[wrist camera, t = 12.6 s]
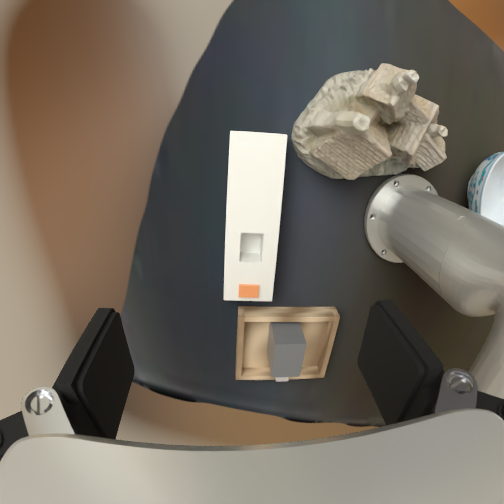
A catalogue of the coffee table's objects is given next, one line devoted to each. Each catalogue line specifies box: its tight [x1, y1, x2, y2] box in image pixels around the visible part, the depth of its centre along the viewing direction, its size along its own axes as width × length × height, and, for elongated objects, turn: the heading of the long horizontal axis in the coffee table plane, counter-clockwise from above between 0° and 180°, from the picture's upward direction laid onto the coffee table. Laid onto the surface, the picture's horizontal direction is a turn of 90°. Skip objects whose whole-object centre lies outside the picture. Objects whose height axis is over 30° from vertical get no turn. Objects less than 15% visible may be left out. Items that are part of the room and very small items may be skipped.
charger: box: [267, 322, 306, 381], centre depth 42 cm, size 4×6×8 cm
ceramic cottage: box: [291, 63, 447, 180], centre depth 28 cm, size 16×16×15 cm
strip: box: [224, 131, 287, 301], centre depth 36 cm, size 6×20×4 cm, turn 176°
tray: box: [236, 306, 340, 380], centre depth 44 cm, size 14×12×3 cm
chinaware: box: [467, 151, 504, 226], centre depth 34 cm, size 15×15×8 cm
